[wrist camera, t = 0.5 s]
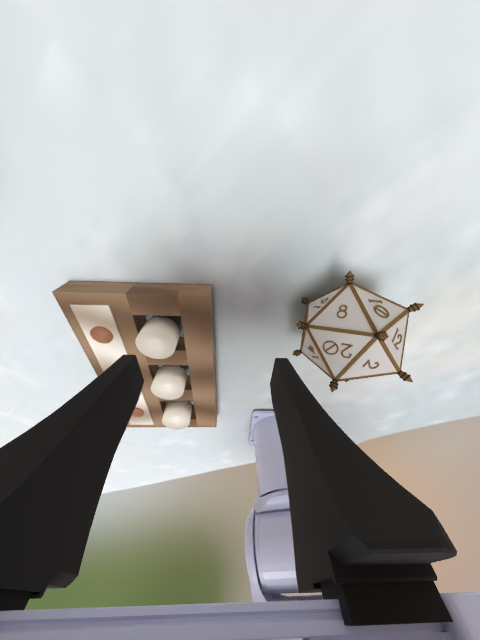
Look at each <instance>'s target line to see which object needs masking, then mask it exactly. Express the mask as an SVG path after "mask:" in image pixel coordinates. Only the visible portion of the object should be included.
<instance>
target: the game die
mask: <svg viewBox="0 0 480 640" xmlns="http://www.w3.org/2000/svg"><path fill="white" fill-rule="evenodd" d="M345 277H346V279H345V280H346V281H347V284H345V285H343V286H341V287H339V288H337V289H335V290H333V291H331V292H329V293H327V294H325V295H323V296H321V297H319V298H317V299H315V300H313V301H311V302H309V301H308V299H306V298H301V300H302V303H304V304H307V308H306V315H305V321H304V322H301V321H299V322H298V323H297V324H296V325H297V326H298V328H299V329H300V328H301V329H303V334H302V341H301V348H300V350H295V351H294V352H293V354H292V355H296V356H298V355H300V354H301V353H303V354H304V355H305V356H306V357H307V358H308V359H309V360H311V361H312V362H313V363H314V364H315V365H316V366H318V367H319V368H320V369H321V370H322V371H323V372H325V373H326V374H327V375H328V376H329V377H330V378H332V381H331V382H330V385H329V386H330V389H331V391H332V392H333V391H334V390H337V388H338V387H337V386H338V383H337V381H345V382H347V381H349V380H353V379H360V378H368V377H375V376H383V375H391V374H398V375H399V376H400V378H402V379H403V381H409V382H413V381H412V379H411V377H410V375H408V374H406V372H403V371H401V366H402V359H403V352H404V345H405V338H406V331H407V324H408V317H409V312H412V311H414V312H415V311H416V310H420V308H421V307H422V306H423V305H424V304H417V303H414V304H413V305H410V306H409V307H408V308H406V307H404V306H401V305H399V304H397V303H395V302H393V301H390V300H388V299H386V298H384V297H382V296H380V295H377V294H375V293H373V292H371V291H369V290H366V289H364V288H362V287H360V286H358V285H356V284H353V283H352V281H353V280H354V279H353V277H354V275H353V274H352V273H351V271H349V272H348V274H347V275H346V276H345Z"/></svg>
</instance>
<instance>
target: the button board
mask: <svg viewBox="0 0 480 640" xmlns="http://www.w3.org/2000/svg"><path fill="white" fill-rule="evenodd" d="M52 293H53V294H54V296H55V298H56V300H57V302H58V304H59V306H60V307H61V309H62V311H63V313H64V315H65V317H66V318H67V320H68V322H69V324H70V326H71V328H72V330H73V331H74V333H75V335H76V337H77V339H78V341H79V342H80V344H81V346H82V348H83V350H84V352H85V354H86V355H87V357H88V359H89V361H90V363H91V365H92V366H93V368H94V370H95V372H96V374H97V376H99V375H100V374H102V373H103V372H104V371H105V370H106V369H107V368H108V367H110V366H111V365H112V364H113V363H114V362H115V361H116V360H118V359H119V358H120V357H121V356H122V355H123V354H125V355H136V357H137V360H138V363H139V366H140V369H141V372H142V376H143V379H144V384H143V387H142V390H141V394H140V397H139V400H138V402H137V405H136V407H135V409H134V411H133V414H132V416H131V418H130V420H129V422H128V425H127V427H166V426H164V425H163V423H162V418H163V414H164V411H165V407H166V404H167V402H168V401H194V405H192V413H191V418H190V424H189V426H188V427H216V423H217V396H216V373H215V349H214V326H213V302H212V285H202V284H165V283H128V282H91V281H68V282H67V283H65V284H64V285H62V286H60V287H59V288H57V289H56V290H54V291H53V292H52ZM145 315H154V316H181V322H182V328H183V335H184V337H179V340H178V343H177V346H176V348H175V351H174V353H173V354H172V355H171V356H170V357H168V358H165V359H154V358H150V357H148V356H146V355H144V354H142V353H141V352H140V351H139V350H138V348H137V346H136V343H135V341H136V337H137V336H138V334H139V332H140V331H141V329H142V327H143V326H144V324H145V322H146V319H145ZM158 365H188V368H189V374H190V376H187V380H186V384H185V388H184V393H183V395H182V396H181V397H180V398H178V399H174V400H166V399H162V398H159V397H157V396H155V395H154V394H153V393H152V391H151V385H152V383H153V380H154V378H155V375H156V373H157V370H158V368H159V367H158Z"/></svg>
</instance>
